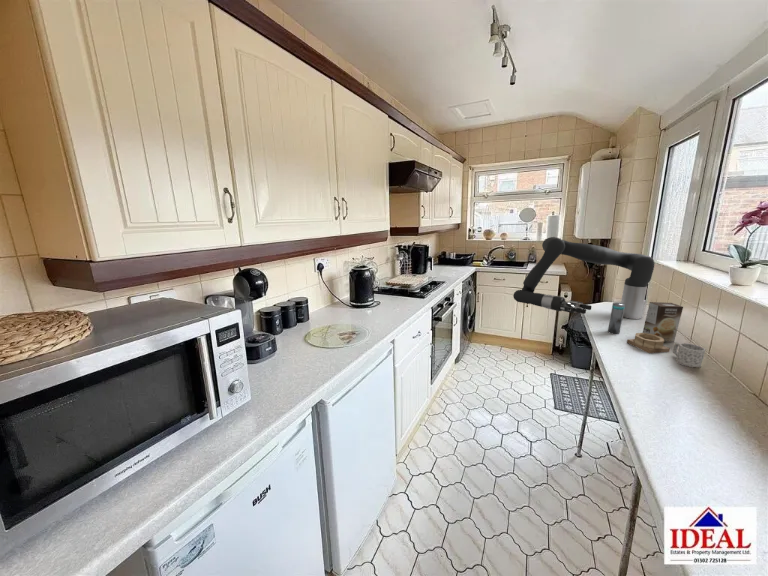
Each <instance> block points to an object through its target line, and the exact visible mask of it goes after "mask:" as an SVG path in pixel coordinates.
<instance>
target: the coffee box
mask: <svg viewBox="0 0 768 576" xmlns="http://www.w3.org/2000/svg"><path fill="white" fill-rule="evenodd" d="M683 310H684V306H682V305H680V304H677V303H673V302H658V301H655V302H654V301H649V304H648V309H647V313H646V317H645V321H644V326H643V329H642V333H648V334H653V335H657V336H659V337H661V338H663V339H664V342H674V343H675V340H676V337H677V332H678V329H679V325H680V324H679V323H680V321H681V317H682V313H683Z"/></svg>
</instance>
